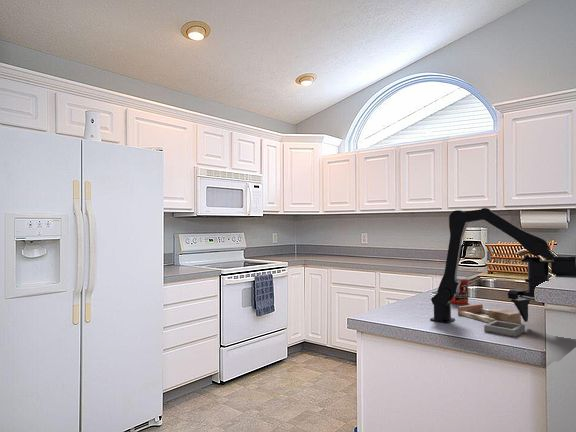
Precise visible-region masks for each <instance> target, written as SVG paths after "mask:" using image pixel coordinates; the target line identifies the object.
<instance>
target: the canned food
mask: <svg viewBox="0 0 576 432" xmlns="http://www.w3.org/2000/svg"><path fill="white" fill-rule="evenodd" d="M457 281H461V284H460V287H459V289H460V292H459V293H458V294H457V295H456V296H455V297H454V298H453V299H452V300H451V302H450V303H451V304H453V305H468V303H469V278H468V277H467V276H462V275H461V276H460V275H459V276H457Z"/></svg>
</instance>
